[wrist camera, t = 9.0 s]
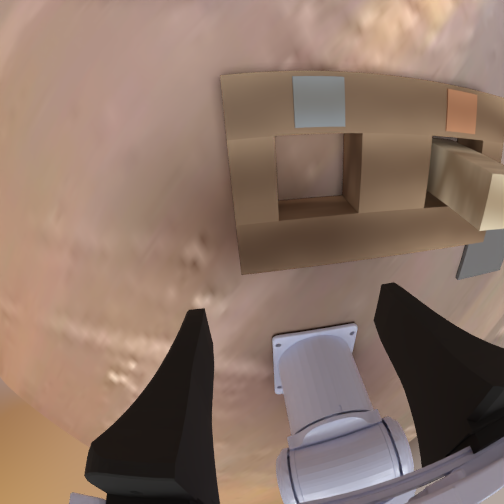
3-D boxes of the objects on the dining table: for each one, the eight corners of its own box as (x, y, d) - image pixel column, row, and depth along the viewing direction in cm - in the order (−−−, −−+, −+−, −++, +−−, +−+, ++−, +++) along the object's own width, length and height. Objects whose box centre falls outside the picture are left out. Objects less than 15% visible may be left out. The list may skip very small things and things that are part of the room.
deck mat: (497, 267, 27) (499, 269, 26) (455, 277, 27) (457, 280, 26) (514, 211, 23) (517, 213, 23) (473, 214, 23) (475, 216, 22)
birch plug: (445, 180, 21) (511, 227, 14) (412, 180, 21) (479, 230, 14) (450, 139, 19) (525, 176, 12) (416, 136, 19) (492, 173, 12)
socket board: (463, 225, 23) (483, 242, 21) (238, 250, 23) (241, 275, 20) (481, 92, 17) (507, 99, 14) (220, 76, 16) (219, 75, 14)
